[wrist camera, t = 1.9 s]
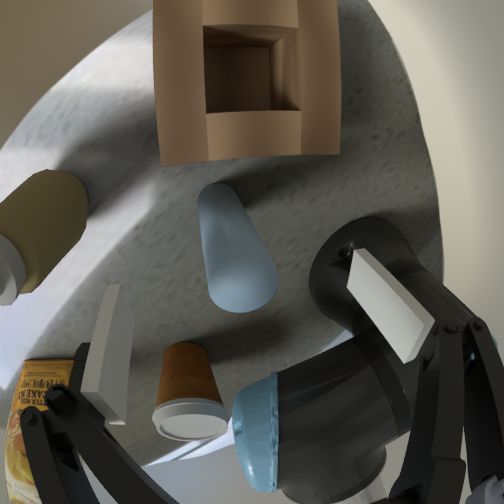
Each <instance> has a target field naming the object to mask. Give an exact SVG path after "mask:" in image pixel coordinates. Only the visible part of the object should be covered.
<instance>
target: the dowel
mask: <svg viewBox="0 0 504 504" xmlns="http://www.w3.org/2000/svg"><path fill="white" fill-rule="evenodd" d="M198 211H199V220H200V229H201V237H202V245H203V253H204V261H205V268H206V275H207V282H208V289H209V294H210V297H211V299H212V300H213V302H214V303H215V304H216V305H217V306H219V307H220V308H222V309H224V310H226V311H230V312H236V313H243V312H249V311H253V310H255V309H258V308H260V307H262V306H263V305H265V304H266V303H267V302H268V301H269V300H270V299H271V298H272V297H273V296H274V294H275V293H276V291H277V289H278V285H279V273H278V270H277V268H276V266H275V264H274V263H273V261H272V259H271V257H270V255H269V253H268V251H267V250H266V248H265V246H264V244H263V242H262V240H261V239H260V237H259V235H258V233H257V231H256V229H255V228H254V226H253V224H252V222H251V220H250V218H249V217H248V215H247V213H246V211H245V209H244V207H243V206H242V204H241V202H240V200H239V198H238V196H237V195H236V193H235V191H234V190H233V189H232V188H231V187H230V186H228V185H226V184H223V183H214V184H211V185H208V186H207V187H205V188H204V189H203V190H202V192H201V193H200V195H199V197H198Z"/></svg>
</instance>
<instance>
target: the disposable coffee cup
mask: <svg viewBox="0 0 504 504" xmlns="http://www.w3.org/2000/svg"><path fill="white" fill-rule="evenodd" d="M152 420H153V422H154V424H155V425H156V428H157V431H158V432H159V433H160V434H161V435H163V436H165V437H167V438H170V439H174V440H180V441H202V440H207V439H212V438H215V437H217V436H219V435H221V434H223V433H224V432H225V431H226V430H227V429H228V422H229V420H230V414H229V412H228V411H227V410H226V408H225V407H224V406H223V403H222V400H221V397H220V394H219V391H218V388H217V385H216V382H215V379H214V376H213V373H212V369H211V366H210V363H209V360H208V357H207V353H206V351H205V349H203V348H202V347H201V346H199V345H197V344H194V343H187V342H184V343H177V344H174V345H172V346H170V347H169V348H167V349H166V351H165V353H164V359H163V365H162V371H161V378H160V384H159V391H158V399H157V407H156V409H155V411H154V413H153V416H152Z"/></svg>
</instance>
